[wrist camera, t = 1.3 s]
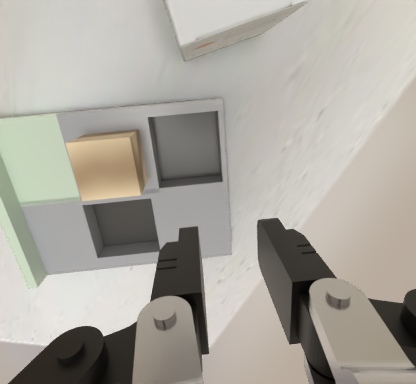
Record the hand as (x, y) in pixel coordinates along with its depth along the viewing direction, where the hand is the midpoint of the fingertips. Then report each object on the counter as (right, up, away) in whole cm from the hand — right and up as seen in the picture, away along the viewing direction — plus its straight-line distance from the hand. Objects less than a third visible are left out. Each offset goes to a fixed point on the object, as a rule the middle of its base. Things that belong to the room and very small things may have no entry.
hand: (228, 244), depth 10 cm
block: (-10, +5, +15) cm, 19 cm away
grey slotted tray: (-10, +3, +19) cm, 21 cm away
